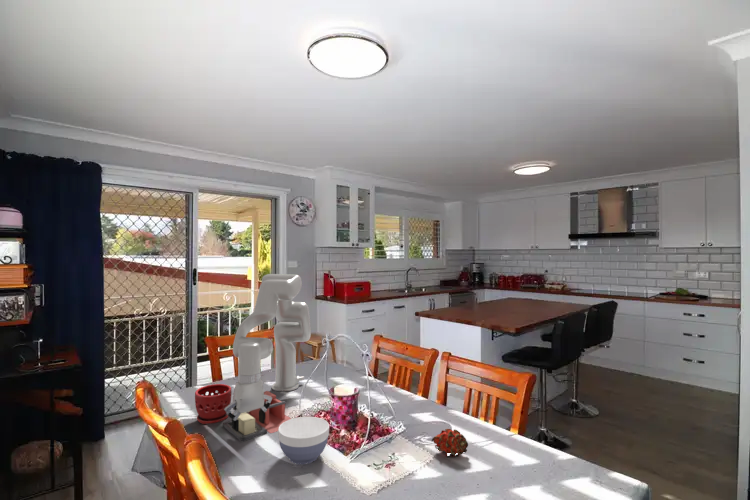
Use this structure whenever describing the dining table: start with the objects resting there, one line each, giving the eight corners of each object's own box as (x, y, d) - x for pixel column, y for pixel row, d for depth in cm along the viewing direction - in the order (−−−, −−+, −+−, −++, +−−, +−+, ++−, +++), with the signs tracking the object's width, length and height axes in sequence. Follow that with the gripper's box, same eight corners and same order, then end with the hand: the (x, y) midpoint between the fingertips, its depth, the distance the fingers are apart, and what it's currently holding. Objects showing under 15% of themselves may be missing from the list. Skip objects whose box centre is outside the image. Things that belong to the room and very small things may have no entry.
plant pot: (188, 420, 153) (189, 389, 153) (221, 410, 162) (221, 381, 162) (203, 431, 144) (204, 397, 144) (237, 420, 153) (237, 389, 154)
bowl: (285, 475, 115) (285, 442, 115) (272, 451, 129) (273, 421, 129) (336, 462, 122) (336, 431, 123) (319, 441, 137) (319, 413, 137)
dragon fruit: (470, 465, 125) (434, 462, 130) (472, 439, 131) (437, 437, 136) (463, 449, 121) (426, 447, 126) (466, 424, 127) (430, 422, 132)
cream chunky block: (232, 427, 146) (232, 413, 146) (243, 423, 148) (243, 410, 149) (244, 436, 138) (244, 422, 138) (255, 432, 141) (255, 418, 141)
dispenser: (243, 417, 156) (243, 396, 156) (271, 409, 164) (271, 389, 164) (270, 436, 140) (270, 412, 140) (299, 426, 148) (300, 404, 148)
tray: (247, 421, 152) (247, 416, 152) (267, 435, 140) (267, 429, 140) (222, 428, 146) (222, 423, 146) (241, 444, 134) (241, 438, 134)
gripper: (266, 370, 149) (266, 416, 149) (220, 380, 137) (220, 430, 137) (276, 375, 144) (276, 422, 143) (229, 385, 132) (229, 437, 132)
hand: (249, 426), depth 140 cm, fingers open, 9 cm apart
